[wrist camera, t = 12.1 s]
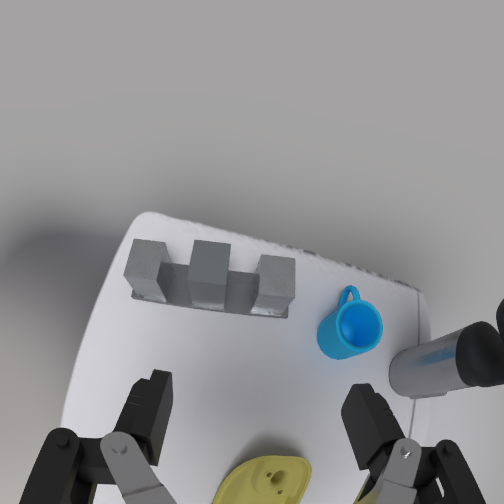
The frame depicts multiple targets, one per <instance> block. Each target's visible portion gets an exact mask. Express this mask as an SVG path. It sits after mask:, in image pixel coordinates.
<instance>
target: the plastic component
mask: <svg viewBox="0 0 504 504" xmlns="http://www.w3.org/2000/svg"><path fill="white" fill-rule="evenodd" d="M310 476H311V466H310V463H309V462H308V461H307V460H306V459H305V458H302V457H294V456H275V455H269V456H261V457H256V458H254V459H251V460H249V461H246V462H245V463H243V464H241V465H240V466H238V467H237V468H235V469H234V470H233V471H232V472H231V473H230V474H229V475H228V476H227V477H226V478H225V480H224V481H223V483H222V484H221V486H220V487H219V489H218V492H217V494H216V496H215V498H214V500H213V503H212V504H299V502H300V500H301V498H302V496H303V494H304V492H305V490H306V488H307V485H308V483H309V480H310ZM279 490H280V491H279ZM278 491H279V492H278Z"/></svg>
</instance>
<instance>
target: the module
mask: <svg viewBox="0 0 504 504" xmlns="http://www.w3.org/2000/svg"><path fill="white" fill-rule="evenodd" d="M230 248H231V244H227V243H218V242H210V241H202V240H194V245H193V251H192V256H191V261H190V266H189V272H188V278H187V282H188V286H189V290H190V294H191V298H192V302H193V304H198V305H206V306H214V307H222V308H224V301H225V292H226V284H227V275H228V266H229V257H230Z"/></svg>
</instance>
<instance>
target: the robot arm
mask: <svg viewBox="0 0 504 504" xmlns="http://www.w3.org/2000/svg"><path fill="white" fill-rule="evenodd" d="M496 320H497V326H498V330H499V333H500V334H499V333H498V332H497V330H496V329H495V328H494V327H493V326H491V324H489V323H487V322H483V321H480V322H476V323H473V324H472V325H469V326H467V327H464V328H463V329H460V330H458V331H455V332H453V333H450V334H448V335H445V336H443V337H440V338H438V339H435V340H433V341H430V342H427V343H424V344H422V345H419V346H416V347H413V348H410V349H407V350H404V351H402V352H400V353H399V354H397V355H396V357H395V358H394V359H393V361H392V363H391V366H390V371H389V379H390V383H391V386H392V388H393V390H394V391H395V392H396V393H397V394H399V395H401V396H409V397H410V398H411V399H419V398H429V397H437V396H444V395H445V394H446V393H447V392H448V391H452V390H458V389H464V388H469V387H475V386H480V387H491V386H496V385H502V384H504V299H503V300H502V302H501V303H500V305H499V307H498V309H497V312H496ZM172 404H173V386H172V373H171V372H167V371H162V370H156V369H154V370H153V373H152V375H151V378H150V380H147V379H143V378H141V379H140V380H138V381H137V382H136V383H135V384H134V385H133V387H132V389H131V391H130V393H129V396H128V398H127V400H126V403H125V405H124V407H123V409H122V412H121V414H120V416H119V419H118V421H117V424H116V426H115V428H114V430H113V431H112V432H111V433H109V434H107V435H105V436H104V437H103V438H80V437H78V436H77V435H76V434H75V433H74V432H73V431H72V430H70V429H67V428H56V429H54V430H52V431H51V432H50V433H49V434H48V436H47V438H46V440H45V442H44V444H43V446H42V448H41V450H40V453H39V455H38V457H37V459H36V462H35V464H34V467H33V469H32V471H31V474H30V476H29V478H28V481H27V484H26V486H25V489H24V492H23V494H22V497H21V500H20V503H19V504H93V500H94V496H95V492H96V488H97V484H113V485H117V486H118V488H119V490H120V492H121V494H122V497H123V499H124V501H125V503H126V504H177V503H176V502H175V500H174V499H173V498H172V496H171V495H170V493H169V492H168V490H167V489H166V488H165V486H164V485H163V484H161V483H160V481H159V480H158V478H157V477H156V475H155V474H154V472H153V470H152V469H151V467H150V465H153V466H158V462H159V458H160V453H161V449H162V445H163V441H164V437H165V433H166V429H167V425H168V421H169V417H170V413H171V409H172ZM341 416H342V420H343V423H344V426H345V428H346V431H347V434H348V437H349V440H350V443H351V446H352V449H353V452H354V455H355V458H356V461H357V464H358V467H359V470H365V469H369V471H370V473H369V474H368V476H367V478H366V480H365V482H364V484H363V486H362V488H361V490H360V492H359V494H358V496H357V498H356V500H355V501H354V503H353V504H486V503H485V500H484V498H483V496H482V494H481V491H480V489H479V487H478V485H477V483H476V481H475V479H474V477H473V475H472V472H471V470H470V468H469V466H468V464H467V462H466V461H465V459H464V457H463V455H462V453H461V451H460V449H459V447H458V446H457V444H456V443H454V442H453V441H451V440H442V441H440V442H439V443H438V444H437V445H436V446H435V447H420V445H419V444H418V443H417V442H416V441H414V440H412V439H409V438H406V437H405V436H404V434H403V432H402V430H401V428H400V426H399V424H398V422H397V420H396V418H395V416H393V413H392V411H391V409H390V407H389V405H388V403H387V401H386V400H385V399H384V398H383V397H382V396H381V395H380V394H379V393H375V392H374V390H373V388H372V386H371V385H370V384H369V383H366V384H354V385H353V386H352V387H351V389H350V391H349V393H348V395H347V397H346V399H345V402H344V404H343V406H342V409H341ZM436 478H439V480H440V482H441V485H442V487H443V489H444V497H442V494H441V492H440V489H439V487H438V485H437V482H436Z"/></svg>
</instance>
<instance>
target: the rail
mask: <svg viewBox="0 0 504 504" xmlns="http://www.w3.org/2000/svg"><path fill="white" fill-rule="evenodd" d="M188 272H189V266H188V265H181V264H173V263H171V260H170V256H169V253H168V250H167V246H166V243H165V242H157V241H149V240H141V239H134V240H133V244H132V247H131V250H130V254H129V257H128V261H127V264H126V268H125V271H124V275H123V276H124V277H125V278H126V280H127V281H128V283H129V284H130V285H131V287H132V288H133V291H132V296H131V297H132V298H133V299H137V300H143V301H149V302H155V303H161V304H167V305H174V306H180V307H187V308H194V309H202V310H209V311H217V312H225V313H234V314H243V315H252V316H262V317H273V318H285V319H286V318H287V317H288V305H289V304H290V303H291V302H292V300H293V299H294V298H295V258H287V257H278V256H270V255H262V254H261V257H260V260H259V263H258V266H257V269H256V272H255V274H253V273H244V272H236V271H228V275H227V284H226V292H225V301H224V308H222V307H214V306H206V305H198V304H193V302H192V298H191V294H190V290H189V286H188V282H187V278H188Z"/></svg>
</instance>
